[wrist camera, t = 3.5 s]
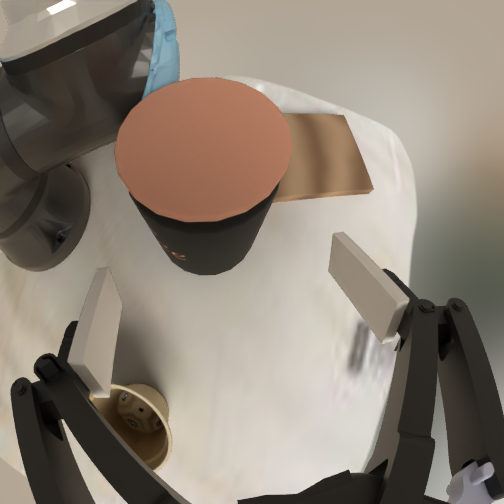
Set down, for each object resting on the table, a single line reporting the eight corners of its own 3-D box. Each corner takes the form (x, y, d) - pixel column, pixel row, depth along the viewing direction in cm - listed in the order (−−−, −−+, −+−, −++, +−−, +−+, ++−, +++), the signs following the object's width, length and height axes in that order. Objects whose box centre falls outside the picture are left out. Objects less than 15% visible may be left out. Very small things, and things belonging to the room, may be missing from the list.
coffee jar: (156, 198, 33) (117, 91, 15) (242, 183, 35) (268, 71, 17) (168, 285, 30) (114, 236, 13) (262, 267, 32) (316, 201, 15)
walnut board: (265, 203, 34) (268, 198, 33) (246, 121, 37) (247, 115, 36) (368, 193, 37) (373, 189, 35) (340, 120, 40) (343, 115, 38)
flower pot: (102, 431, 25) (72, 458, 16) (107, 360, 27) (73, 370, 19) (178, 451, 26) (168, 487, 17) (186, 379, 28) (177, 399, 20)
